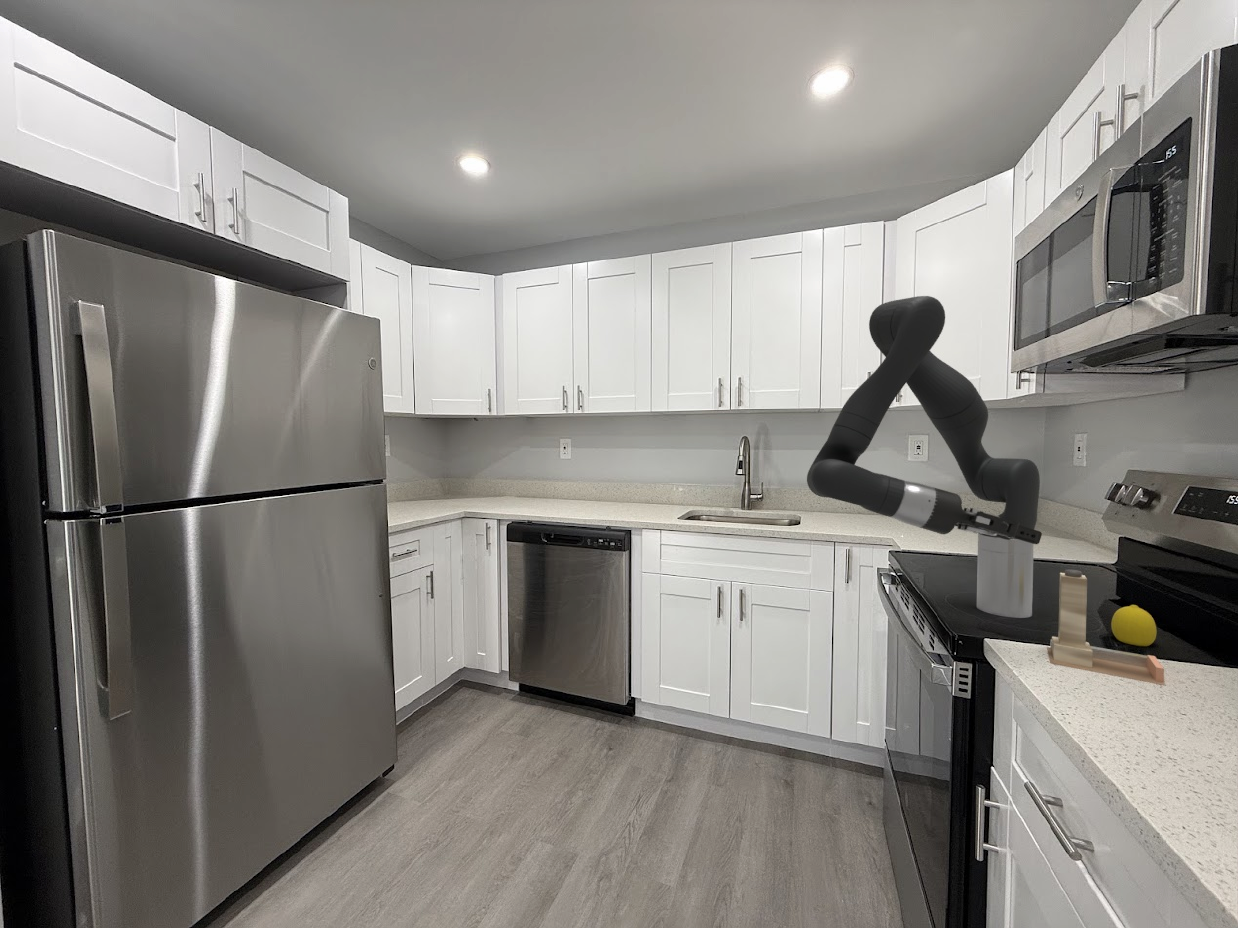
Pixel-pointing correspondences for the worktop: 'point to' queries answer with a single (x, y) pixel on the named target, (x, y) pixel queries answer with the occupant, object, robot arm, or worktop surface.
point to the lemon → (1134, 626)
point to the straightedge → (1118, 656)
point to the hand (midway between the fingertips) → (1024, 536)
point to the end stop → (1155, 668)
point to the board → (1112, 669)
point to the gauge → (1072, 621)
